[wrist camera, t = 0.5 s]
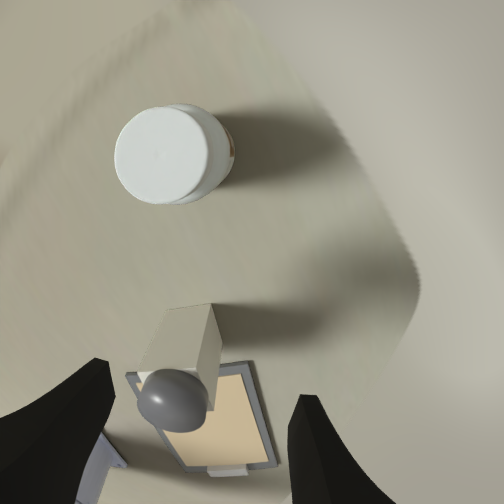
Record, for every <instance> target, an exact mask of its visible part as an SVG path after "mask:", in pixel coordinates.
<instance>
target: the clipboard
mask: <svg viewBox="0 0 504 504" xmlns="http://www.w3.org/2000/svg"><path fill="white" fill-rule="evenodd" d="M125 377H126V379H127V380H128V382H129V384H130V386H131V388H132V390H133V391H134V393H135V395H136V397H137V399H138V397H139V395H140V392H141V389H142V387H143V383H142V382H141V380H140V378H139V376H138V374H137V372H130V373H126V375H125ZM154 427H155V428H156V430H157V432H158V433H159V435H160V436H161V438H162V439H163V441H164V442H165V444H166V445H167V447H168V448H169V450H170V451H171V453H172V454H173V456H174V457H175V458H176V460H177V461H178V463H179V464H180V465H181V467H182V468H183V470H184V471H185V472H208V474H209V475H210V477H228V476H244V475H249V470H255V469H265V468H273V467H278V463H277V460H276V457H275V453H274V450H273V447H272V443H271V440H270V437H269V433H268V430H267V427H266V423H265V420H264V416H263V413H262V409H261V406H260V402H259V399H258V395H257V392H256V388H255V385H254V381H253V377H252V374H251V370H250V367H249V363H248V361H242V362H235V363H228V364H220V367H219V375H218V383H217V391H216V399H215V407H214V411H209V412H206V419H205V422H204V424H203V425H202V426H201V427H200V428H199V429H197V430H195V431H192V432H188V433H174V432H169V431H165V430H162V429H160V428H158V427H156V426H154Z"/></svg>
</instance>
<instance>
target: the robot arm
mask: <svg viewBox="0 0 504 504" xmlns="http://www.w3.org/2000/svg"><path fill="white" fill-rule="evenodd" d="M115 397H116V396H115V391H114V387H113V382H112V377H111V372H110V367H109V362H108V361H105V360H101V359H98V358H93V359H92V360H91V361H89V362H88V363H87V364H85V365H84V366H83V367H81V368H80V369H79V370H78V371H76V372H75V373H74V374H72V375H71V376H70V377H69V378H67V379H66V380H65V381H63V382H62V383H60V384H59V385H58V386H56V387H55V388H54V389H52V390H51V391H49V392H48V393H46V394H45V395H43V396H42V397H40V398H39V399H37V400H35V401H34V402H32V403H30V404H29V405H27V406H25V407H23V408H21V409H19V410H17V411H15V412H13V413H11V414H9V415H6V416H4V417H1V418H0V504H97V502H98V499H99V496H100V494H101V491H102V488H103V485H104V482H105V479H106V476H107V474H108V471H109V468H110V466H114V467H122V468H126V467H127V463H126V462H125V461H124V460H123V459H122V457H121V456H120V455H119V454H118V453H117V451H116V450H115V449H114V448H113V446H112V445H111V444H110V443H109V441H108V440H107V439H106V437H105V436H104V435H103V433H102V430H103V428H104V426H105V424H106V422H107V419H108V417H109V414H110V412H111V409H112V406H113V403H114V400H115ZM287 450H288V460H289V470H290V480H291V490H292V500H293V501H292V503H293V504H396V503H395V502H393V501H392V500H391V499H390V498H389V497H388V496H387V495H386V494H385V493H384V492H382V491H381V490H380V489H379V488H378V487H377V486H376V485H375V483H374V482H373V481H372V480H371V479H370V478H369V477H368V476H367V475H366V473H365V472H364V471H363V470H362V469H361V467H360V466H359V465H358V463H357V462H356V461H355V460H354V458H353V457H352V455H351V454H350V452H349V451H348V449H347V448H346V446H345V445H344V443H343V442H342V440H341V438H340V437H339V435H338V434H337V432H336V430H335V429H334V427H333V425H332V423H331V421H330V420H329V418H328V416H327V414H326V412H325V410H324V408H323V406H322V404H321V402H320V400H319V398H318V397H317V395H303V394H300V396H299V399H298V402H297V404H296V407H295V410H294V412H293V415H292V417H291V420H290V422H289V425H288V445H287Z"/></svg>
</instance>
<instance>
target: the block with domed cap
mask: <svg viewBox="0 0 504 504" xmlns="http://www.w3.org/2000/svg"><path fill="white" fill-rule="evenodd" d="M222 344H223V342H222V339H221V335H220V332H219V329H218V325H217V322H216V319H215V315H214V312H213V308H212V305H211V303H210V304H204V305H197V306H191V307H185V308H178V309H172V310H166V311H165V313H164V316H163V318H162V320H161V322H160V324H159V326H158V328H157V330H156V332H155V334H154V336H153V338H152V341H151V343H150V345H149V347H148V349H147V351H146V353H145V355H144V358H143V360H142V362H141V364H140V366H139V369H138V371H137V374H138V376H139V378H140V380H141V382H142V383H143V387H142V389H141V392H140V395H139V397H138V400H137V407H138V410H139V412H140V413H141V415H142V416H143V417H144V418H145V419H146V420H147V421H148V422H149V423H151V424H152V425H154V426H156V427H158V428H160V429H162V430H165V431H169V432H174V433H188V432H192V431H195V430H197V429H199V428H200V427H201V426H202V425H203V424H204V422H205V419H206V412H209V411H214V407H215V399H216V391H217V383H218V375H219V367H220V359H221V352H222Z"/></svg>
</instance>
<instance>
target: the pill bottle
mask: <svg viewBox="0 0 504 504" xmlns="http://www.w3.org/2000/svg"><path fill="white" fill-rule="evenodd" d="M234 157H235V147H234V143H233V139H232V137H231V135H230V133H229V132H228V130H227V129H226V128H225V127H224V126H223V125H222V124H221V123H220V122H219V121H218V120H217V119H216V118H215V117H214V116H213V115H212V114H210V113H209V112H207V111H206V110H204V109H202V108H200V107H197V106H194V105H190V104H171V105H167V106H162V107H154V108H150V109H147V110H145V111H143V112H141V113H139V114H137V115H136V116H135V117H133V118H132V119H131V120H130V121H129V122H128V123H127V124H126V126H125V127H124V128H123V130H122V131H121V133H120V135H119V137H118V140H117V143H116V147H115V155H114V160H115V168H116V172H117V175H118V177H119V179H120V181H121V183H122V184H123V186H124V187H125V188H126V189H127V190H128V191H129V192H130V193H131V194H132V195H133V196H135V197H136V198H138V199H140V200H142V201H144V202H147V203H151V204H174V205H180V204H187V203H191V202H194V201H197V200H199V199H201V198H203V197H204V196H206V195H207V194H209V193H210V192H211V191H212V190H214V189H215V188H216V187H217V186H218V185H219V184H220V183H221V182H222V181H223V180H224V179H225V178H226V176H227V175H228V174H229V172H230V170H231V168H232V166H233V162H234Z"/></svg>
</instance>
